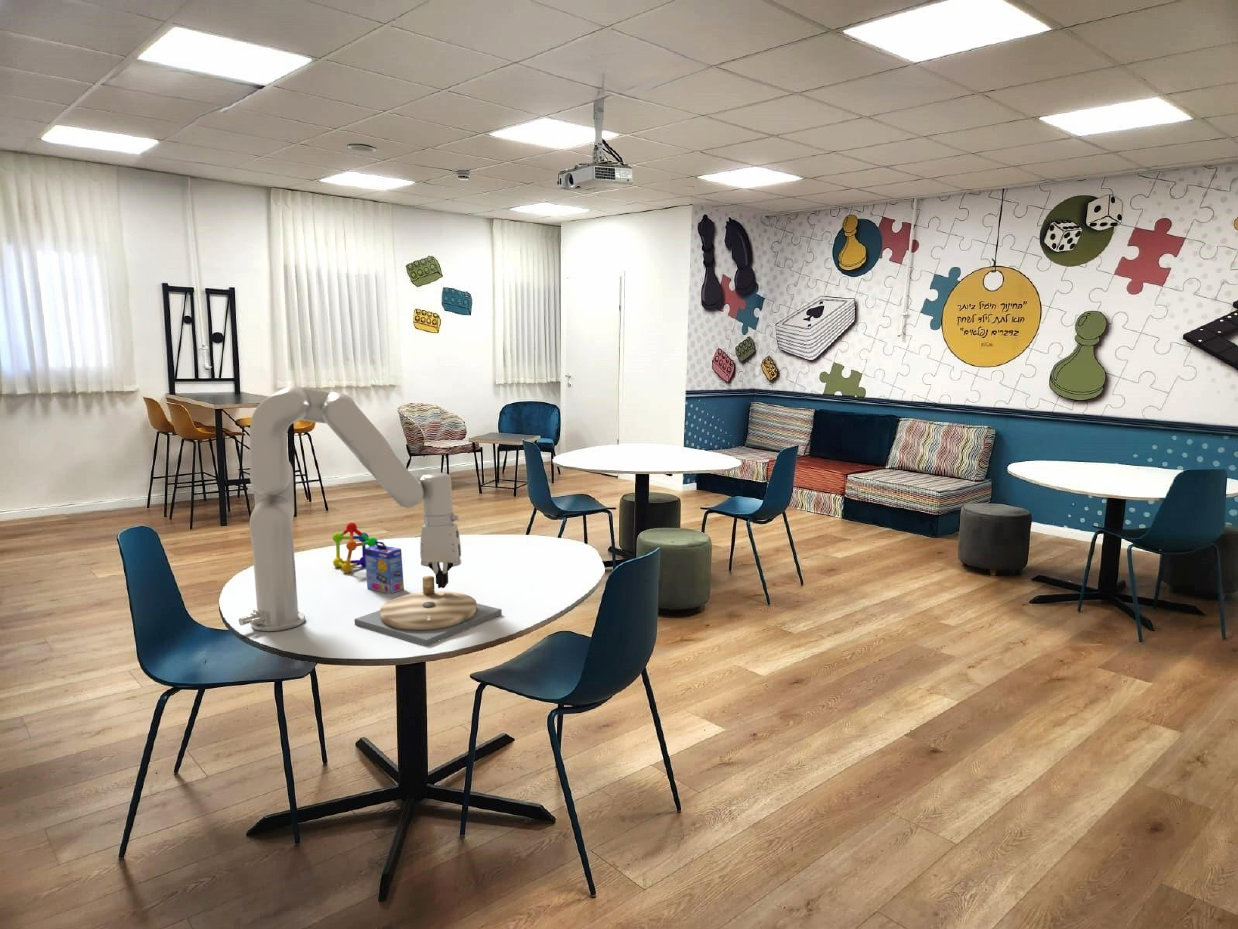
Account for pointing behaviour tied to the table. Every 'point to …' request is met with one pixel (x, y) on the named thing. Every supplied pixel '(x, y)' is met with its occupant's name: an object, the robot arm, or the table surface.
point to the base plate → (427, 636)
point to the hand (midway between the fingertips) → (442, 586)
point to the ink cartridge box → (384, 568)
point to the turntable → (428, 609)
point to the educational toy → (351, 547)
